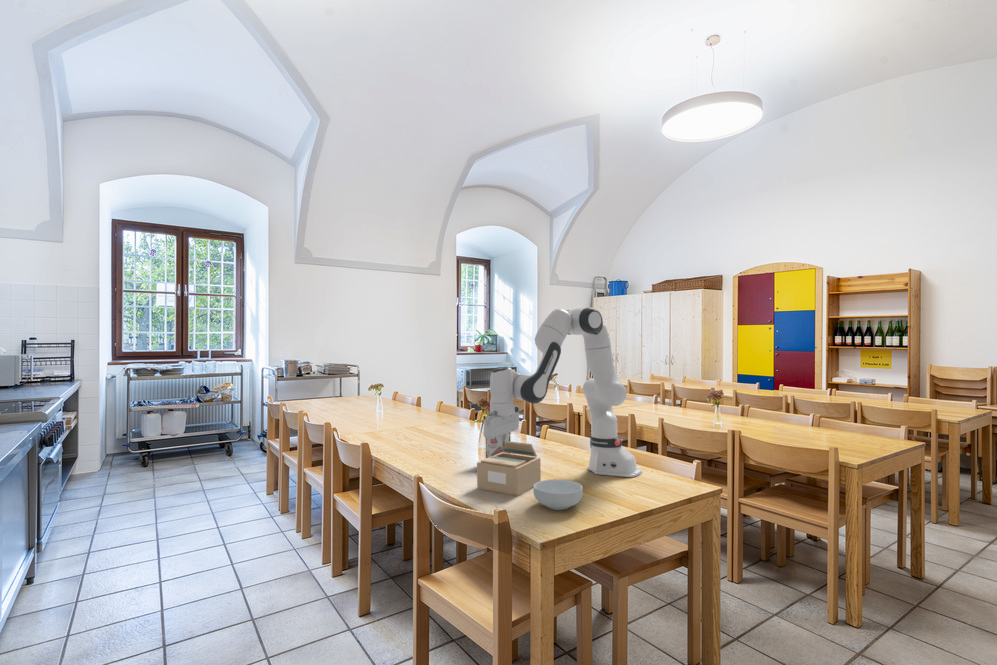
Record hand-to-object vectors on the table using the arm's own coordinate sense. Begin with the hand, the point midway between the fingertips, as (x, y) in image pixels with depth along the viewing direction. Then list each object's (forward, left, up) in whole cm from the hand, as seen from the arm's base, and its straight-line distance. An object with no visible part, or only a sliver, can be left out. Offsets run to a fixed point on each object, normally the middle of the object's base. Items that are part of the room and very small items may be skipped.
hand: (501, 445), depth 191 cm
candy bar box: (+20, -29, -17) cm, 39 cm away
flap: (0, -1, -6) cm, 6 cm away
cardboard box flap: (0, -11, -4) cm, 12 cm away
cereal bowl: (-26, +6, -17) cm, 32 cm away
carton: (0, -5, -17) cm, 17 cm away
